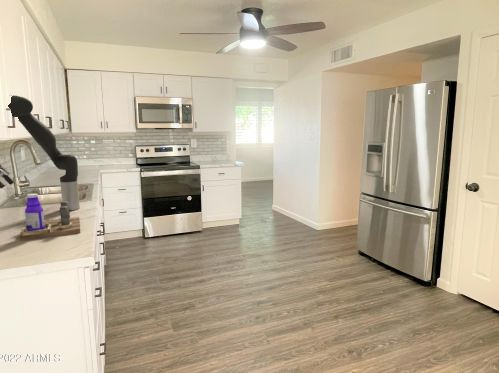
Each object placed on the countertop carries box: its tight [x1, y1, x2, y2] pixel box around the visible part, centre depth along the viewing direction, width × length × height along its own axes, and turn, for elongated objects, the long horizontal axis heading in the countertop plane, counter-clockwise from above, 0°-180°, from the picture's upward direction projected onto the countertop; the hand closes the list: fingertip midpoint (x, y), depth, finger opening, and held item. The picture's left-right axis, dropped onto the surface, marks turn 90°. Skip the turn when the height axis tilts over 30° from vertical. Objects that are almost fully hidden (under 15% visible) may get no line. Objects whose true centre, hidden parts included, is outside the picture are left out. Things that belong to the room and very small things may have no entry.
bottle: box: [24, 193, 45, 231], centre depth 156 cm, size 7×6×17 cm
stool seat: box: [19, 201, 81, 241], centre depth 165 cm, size 24×24×12 cm
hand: (8, 185), depth 156 cm, fingers open, 8 cm apart
